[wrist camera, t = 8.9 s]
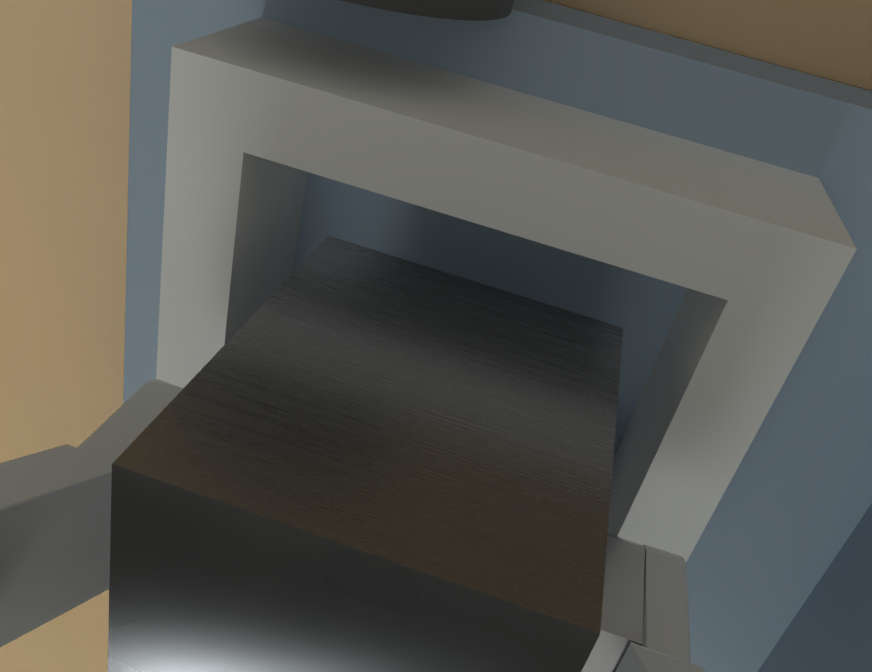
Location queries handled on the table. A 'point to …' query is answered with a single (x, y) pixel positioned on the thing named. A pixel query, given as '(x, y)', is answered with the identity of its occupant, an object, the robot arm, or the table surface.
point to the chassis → (555, 253)
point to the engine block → (373, 484)
